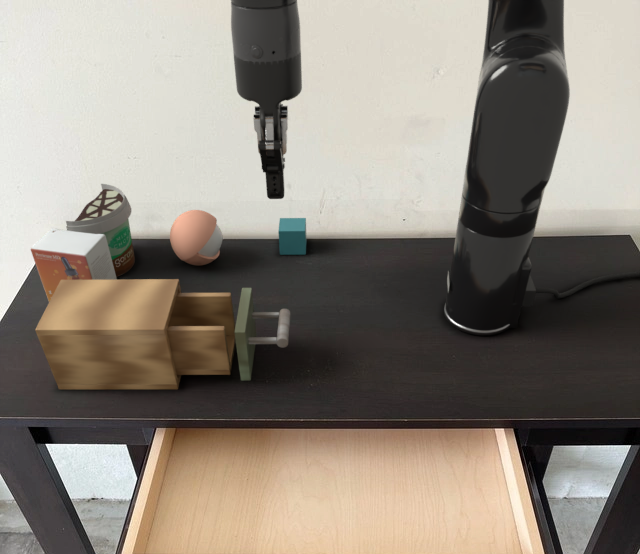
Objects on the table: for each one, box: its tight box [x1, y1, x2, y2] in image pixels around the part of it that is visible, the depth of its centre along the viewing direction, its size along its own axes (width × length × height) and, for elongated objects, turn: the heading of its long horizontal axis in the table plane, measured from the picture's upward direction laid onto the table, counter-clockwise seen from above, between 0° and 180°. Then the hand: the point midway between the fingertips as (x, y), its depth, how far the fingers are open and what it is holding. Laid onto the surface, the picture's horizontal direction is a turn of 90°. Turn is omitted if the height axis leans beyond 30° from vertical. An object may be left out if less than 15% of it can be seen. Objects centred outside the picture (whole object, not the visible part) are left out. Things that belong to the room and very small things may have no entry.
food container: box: [65, 183, 136, 278], centre depth 96 cm, size 12×6×10 cm, turn 168°
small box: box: [30, 227, 118, 303], centre depth 88 cm, size 8×6×10 cm
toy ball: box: [169, 209, 224, 266], centre depth 97 cm, size 8×8×8 cm
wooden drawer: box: [167, 287, 291, 381], centre depth 80 cm, size 18×9×7 cm, turn 89°
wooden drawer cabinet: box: [35, 278, 183, 390], centre depth 80 cm, size 15×10×9 cm
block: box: [278, 217, 307, 256], centre depth 101 cm, size 4×4×4 cm
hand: (276, 196), depth 85 cm, fingers closed
